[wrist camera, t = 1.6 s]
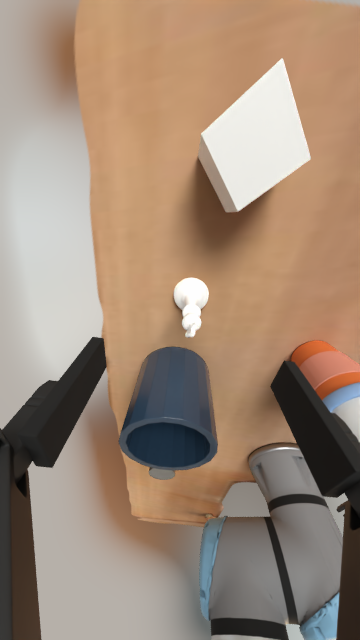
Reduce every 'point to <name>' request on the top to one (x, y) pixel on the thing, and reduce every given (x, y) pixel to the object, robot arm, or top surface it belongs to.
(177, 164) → the top surface
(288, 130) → the white cube
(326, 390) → the cup with straw
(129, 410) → the tin
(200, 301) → the chess piece
